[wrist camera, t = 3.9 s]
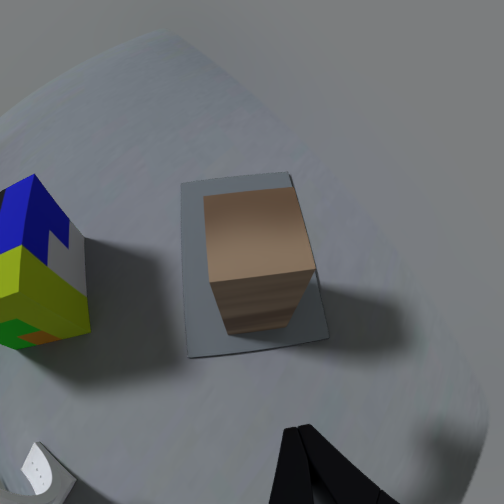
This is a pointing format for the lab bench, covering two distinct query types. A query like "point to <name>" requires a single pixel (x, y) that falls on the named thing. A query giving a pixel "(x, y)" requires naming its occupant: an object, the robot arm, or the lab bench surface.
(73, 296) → the puzzle toy
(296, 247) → the walnut block
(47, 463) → the headphone stand
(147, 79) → the lab bench surface
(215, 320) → the slate mat
